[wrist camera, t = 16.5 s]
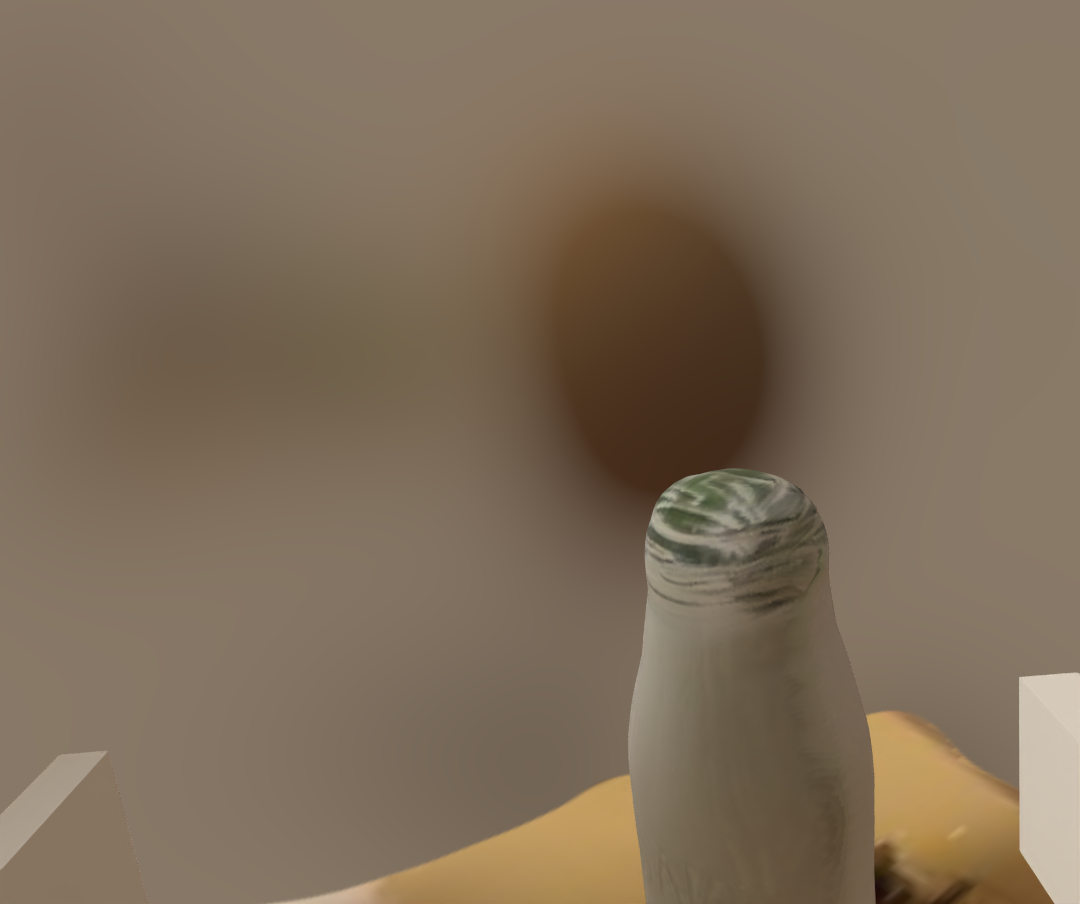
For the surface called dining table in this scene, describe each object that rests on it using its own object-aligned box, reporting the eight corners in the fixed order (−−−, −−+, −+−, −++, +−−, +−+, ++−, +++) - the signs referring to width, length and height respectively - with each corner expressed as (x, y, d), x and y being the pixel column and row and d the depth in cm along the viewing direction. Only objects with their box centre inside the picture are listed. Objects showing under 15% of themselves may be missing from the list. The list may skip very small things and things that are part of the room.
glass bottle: (623, 1048, 46) (553, 495, 39) (744, 925, 52) (703, 434, 46) (805, 1180, 39) (758, 531, 32) (919, 1019, 45) (900, 453, 39)
